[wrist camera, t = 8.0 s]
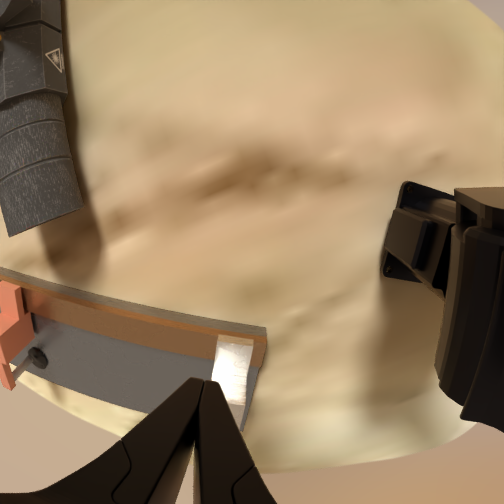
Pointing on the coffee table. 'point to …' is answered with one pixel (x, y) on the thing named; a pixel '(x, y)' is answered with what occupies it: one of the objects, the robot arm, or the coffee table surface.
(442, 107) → the coffee table surface
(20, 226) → the laser sight
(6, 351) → the block
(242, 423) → the plate
